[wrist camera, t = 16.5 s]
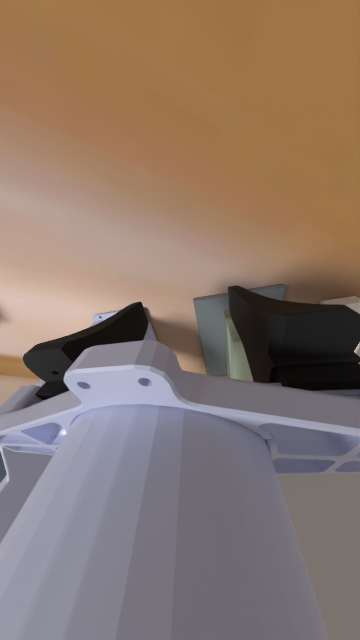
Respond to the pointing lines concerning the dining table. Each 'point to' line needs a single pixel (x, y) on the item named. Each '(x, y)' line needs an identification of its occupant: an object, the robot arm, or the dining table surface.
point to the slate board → (221, 325)
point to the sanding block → (235, 351)
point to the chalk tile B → (346, 302)
